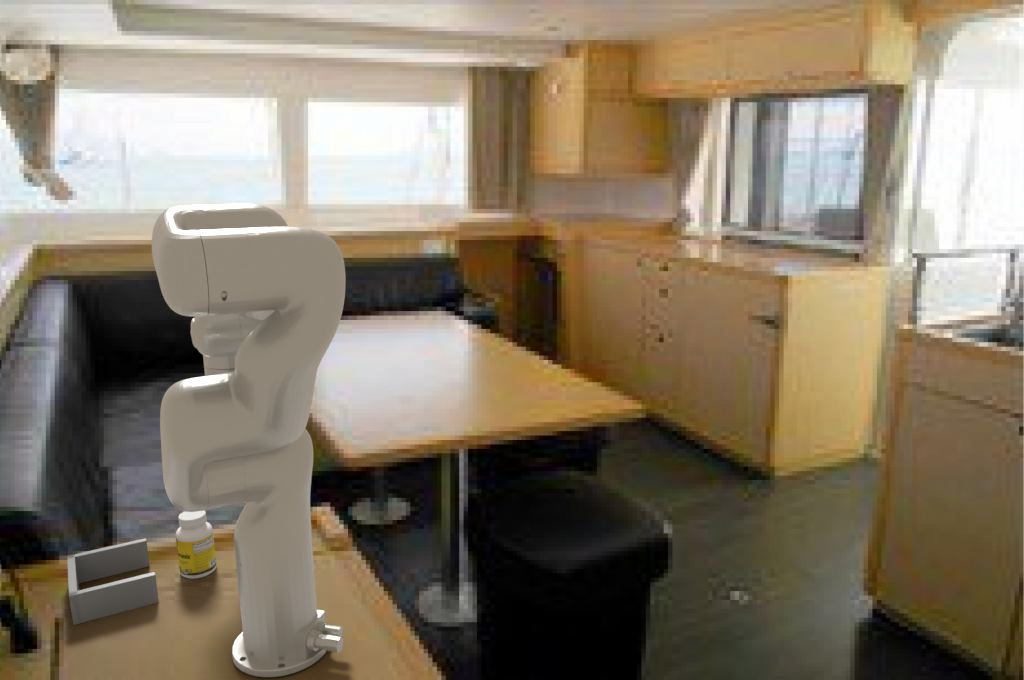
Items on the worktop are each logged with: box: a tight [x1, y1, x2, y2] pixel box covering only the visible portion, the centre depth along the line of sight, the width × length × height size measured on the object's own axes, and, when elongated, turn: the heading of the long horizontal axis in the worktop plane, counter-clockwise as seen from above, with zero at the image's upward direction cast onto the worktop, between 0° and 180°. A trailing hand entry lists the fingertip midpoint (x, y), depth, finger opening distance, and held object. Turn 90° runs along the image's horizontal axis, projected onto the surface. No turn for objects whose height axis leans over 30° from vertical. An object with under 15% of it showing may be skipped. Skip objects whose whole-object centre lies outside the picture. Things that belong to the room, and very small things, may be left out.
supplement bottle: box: [175, 510, 217, 580], centre depth 120 cm, size 5×5×10 cm
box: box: [66, 537, 160, 626], centre depth 115 cm, size 11×13×4 cm
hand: (240, 483), depth 123 cm, fingers closed
